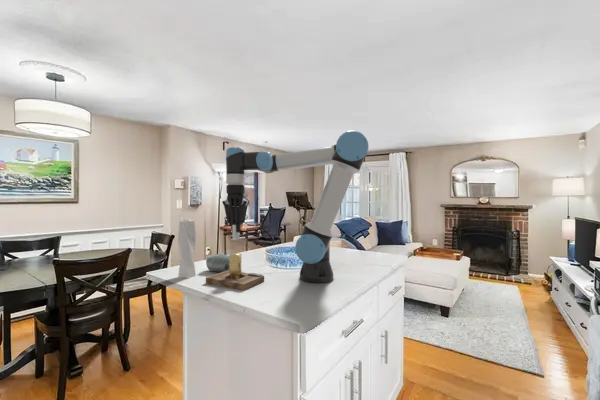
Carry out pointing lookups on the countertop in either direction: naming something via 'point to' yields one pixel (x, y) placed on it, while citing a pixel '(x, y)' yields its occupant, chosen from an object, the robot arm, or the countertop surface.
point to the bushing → (235, 266)
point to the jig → (235, 280)
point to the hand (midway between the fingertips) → (236, 239)
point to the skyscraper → (186, 247)
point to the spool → (218, 262)
